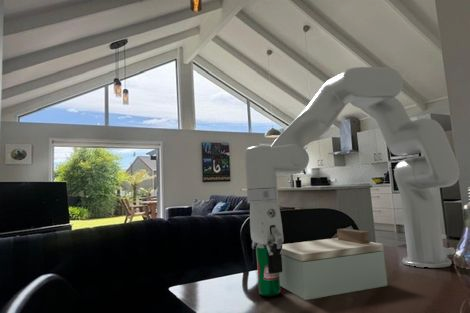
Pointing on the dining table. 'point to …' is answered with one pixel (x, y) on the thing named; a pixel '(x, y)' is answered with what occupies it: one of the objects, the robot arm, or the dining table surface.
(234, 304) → the dining table surface
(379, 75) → the robot arm
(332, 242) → the lid
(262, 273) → the soda can
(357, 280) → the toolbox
